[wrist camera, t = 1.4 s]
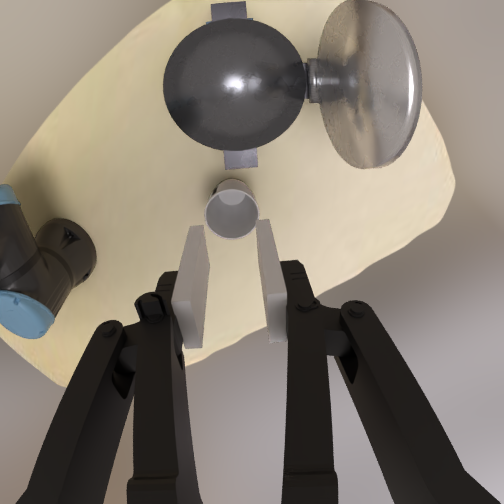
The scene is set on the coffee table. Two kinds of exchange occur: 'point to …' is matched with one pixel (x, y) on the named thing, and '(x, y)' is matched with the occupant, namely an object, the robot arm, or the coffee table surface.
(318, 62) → the lid
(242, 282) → the coffee table surface
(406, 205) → the coffee table surface
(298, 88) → the cooker
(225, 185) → the cup
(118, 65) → the coffee table surface
